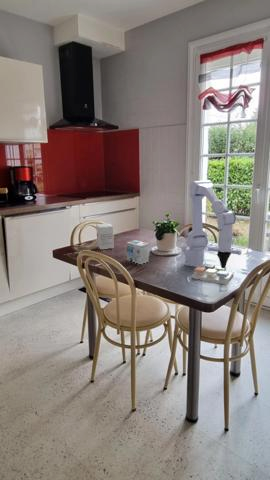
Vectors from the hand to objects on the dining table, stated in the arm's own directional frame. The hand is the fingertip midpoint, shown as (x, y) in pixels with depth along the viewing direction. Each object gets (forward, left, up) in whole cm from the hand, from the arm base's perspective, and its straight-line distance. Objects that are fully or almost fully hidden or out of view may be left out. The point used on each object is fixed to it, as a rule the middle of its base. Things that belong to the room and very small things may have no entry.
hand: (223, 267), depth 149 cm
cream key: (-6, 0, -4) cm, 7 cm away
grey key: (-8, +6, -4) cm, 11 cm away
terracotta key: (-11, 0, -4) cm, 12 cm away
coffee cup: (-31, +46, -7) cm, 56 cm away
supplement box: (-80, +19, -7) cm, 82 cm away
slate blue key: (0, 0, -4) cm, 4 cm away
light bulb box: (-49, +6, -7) cm, 49 cm away
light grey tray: (-6, +3, -6) cm, 9 cm away
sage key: (-3, +6, -4) cm, 8 cm away
